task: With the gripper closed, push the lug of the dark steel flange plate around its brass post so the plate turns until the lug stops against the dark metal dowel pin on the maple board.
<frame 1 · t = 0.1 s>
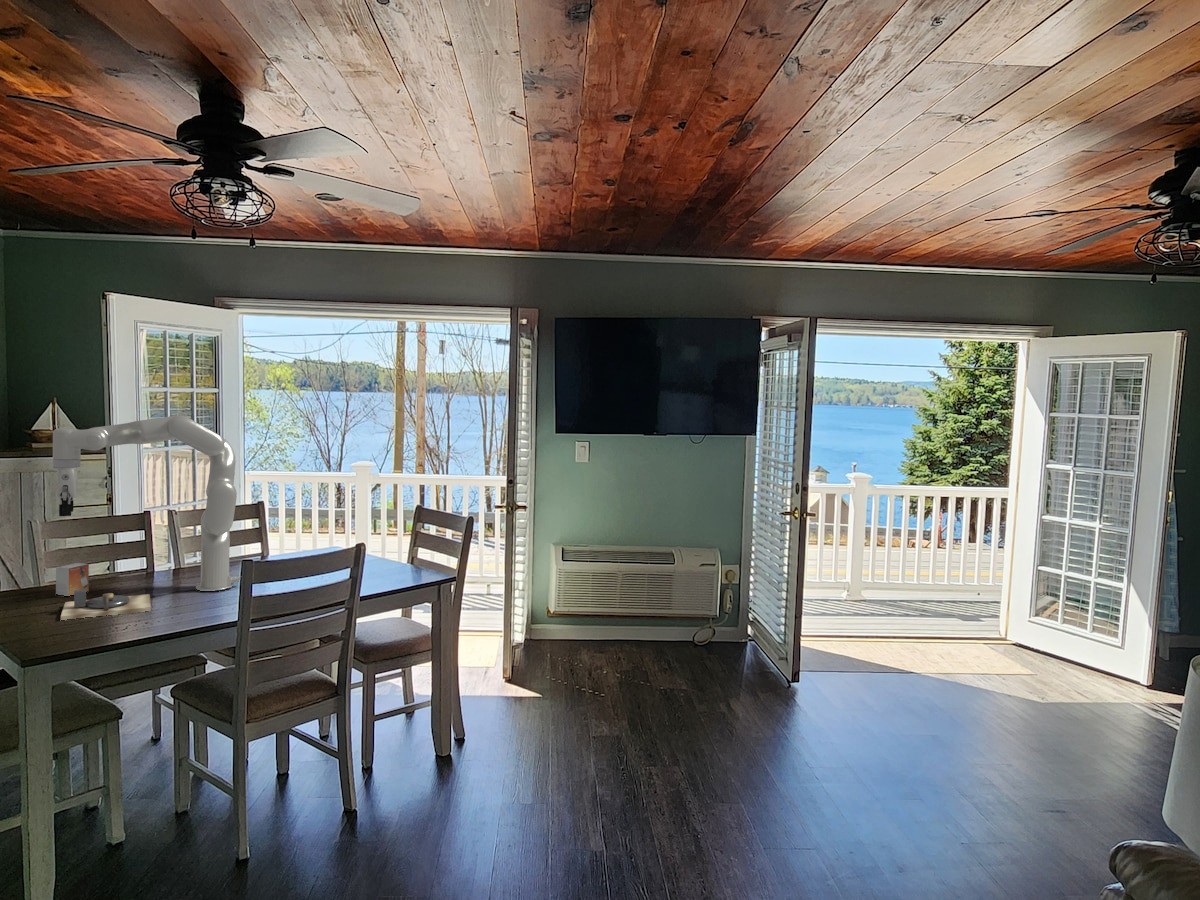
hand: (66, 513, 235), 31 cm above the table, tool pointing down, fingers open, 9 cm apart
small box: (72, 594, 247), on the table
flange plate: (102, 596, 231), point 4 cm above the table, hinge at 0.0°
post board: (107, 608, 232), on the table
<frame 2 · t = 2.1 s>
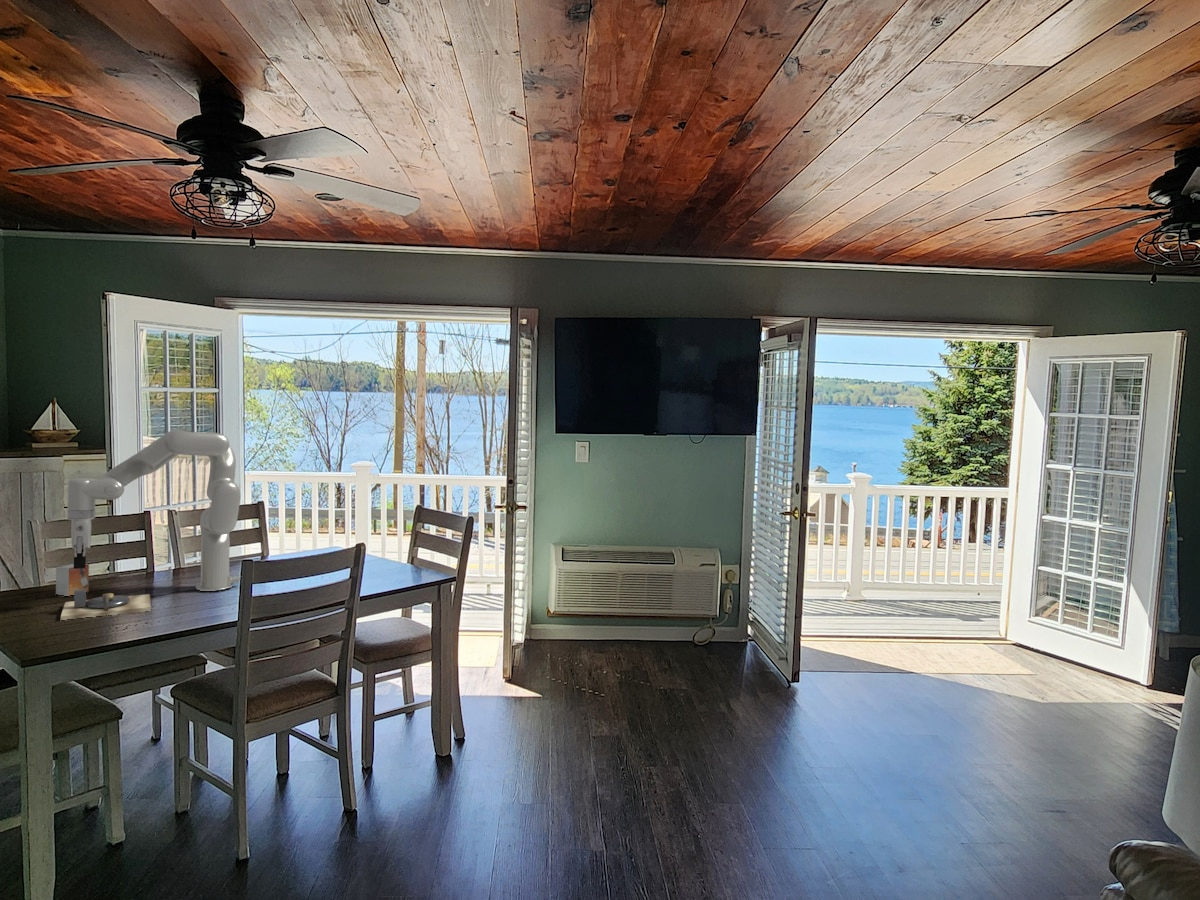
hand: (79, 567, 233), 13 cm above the table, tool pointing down, fingers closed
nothing on the table moved.
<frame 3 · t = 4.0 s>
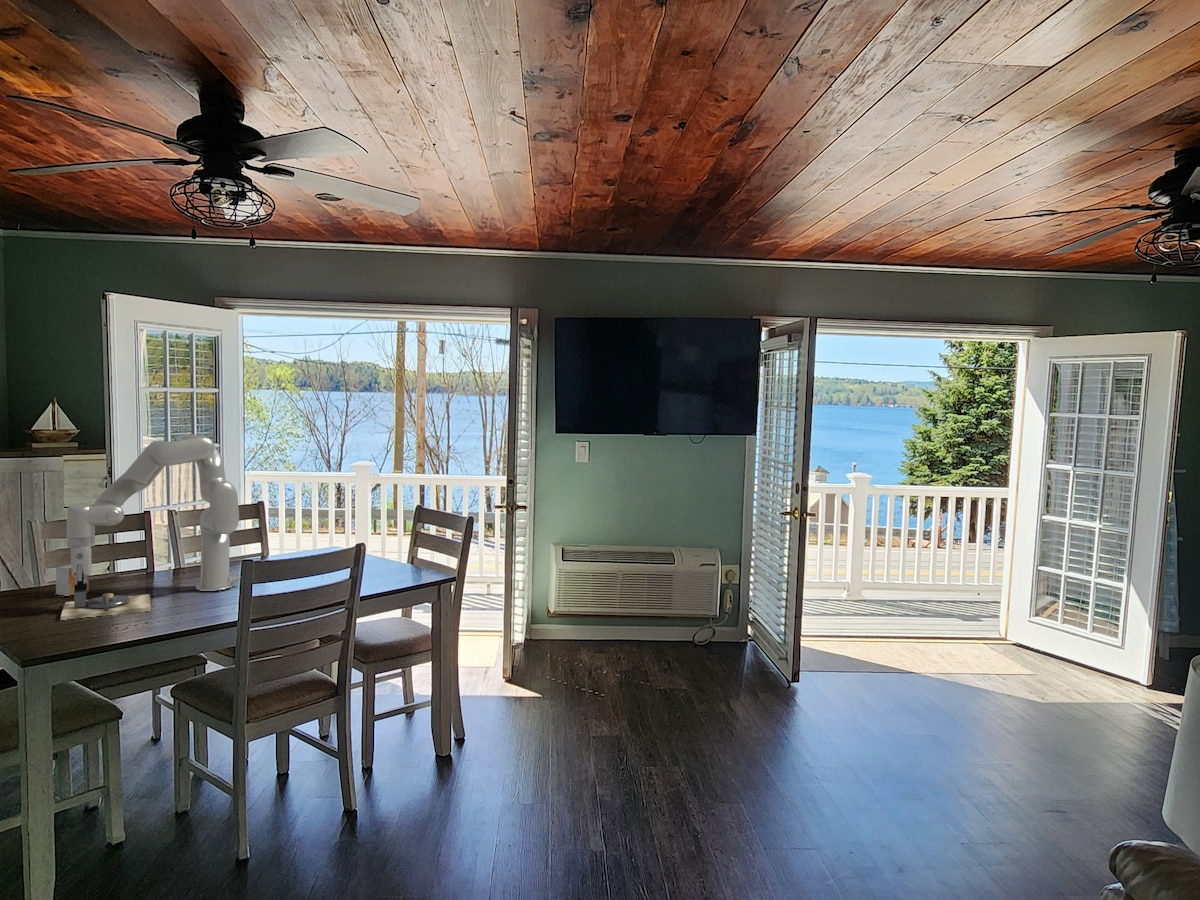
hand: (80, 595, 230), 5 cm above the table, tool pointing down, fingers closed
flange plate: (102, 596, 231), point 4 cm above the table, hinge at 0.1°, touching gripper
everything else where it was.
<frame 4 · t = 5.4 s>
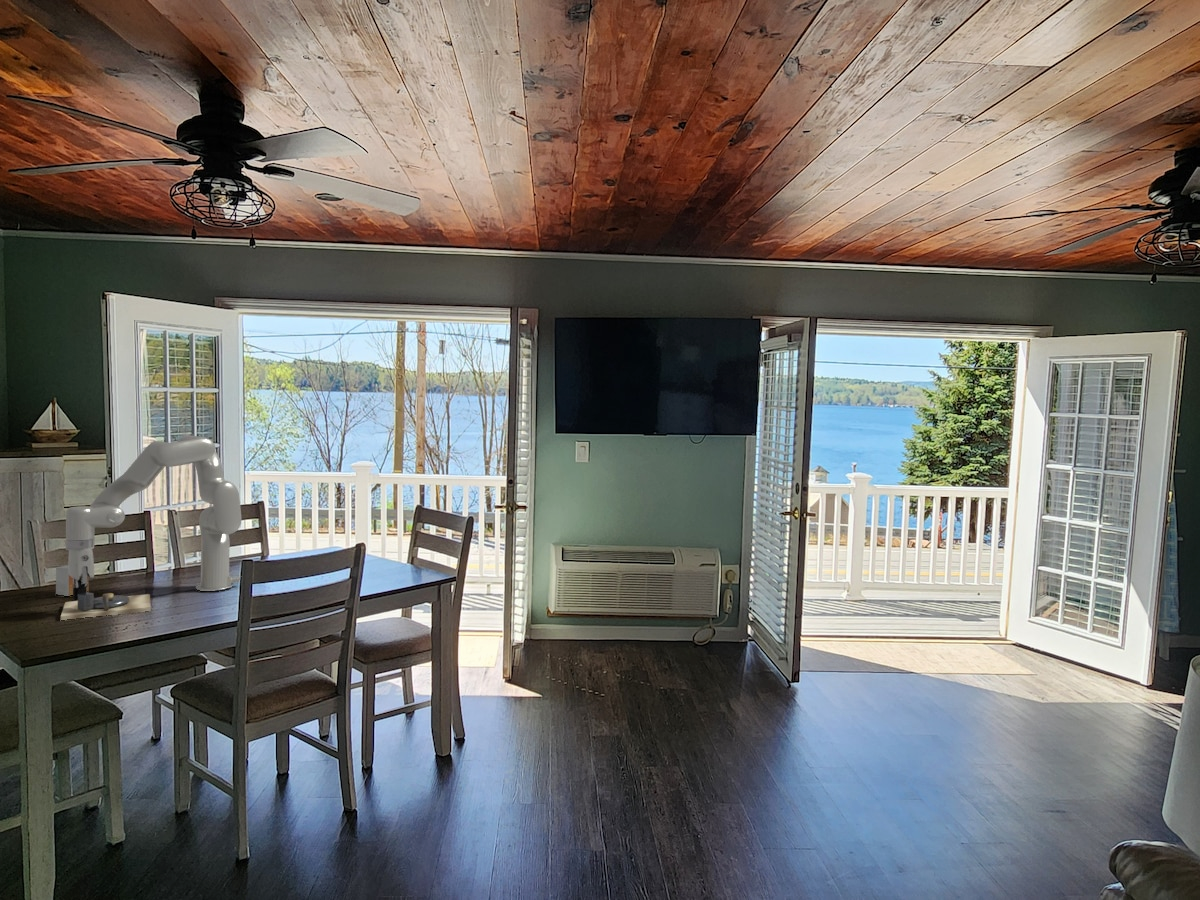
hand: (79, 598, 226), 5 cm above the table, tool pointing down, fingers closed
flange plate: (103, 596, 230), point 4 cm above the table, hinge at 39.2°, touching gripper
everything else where it was.
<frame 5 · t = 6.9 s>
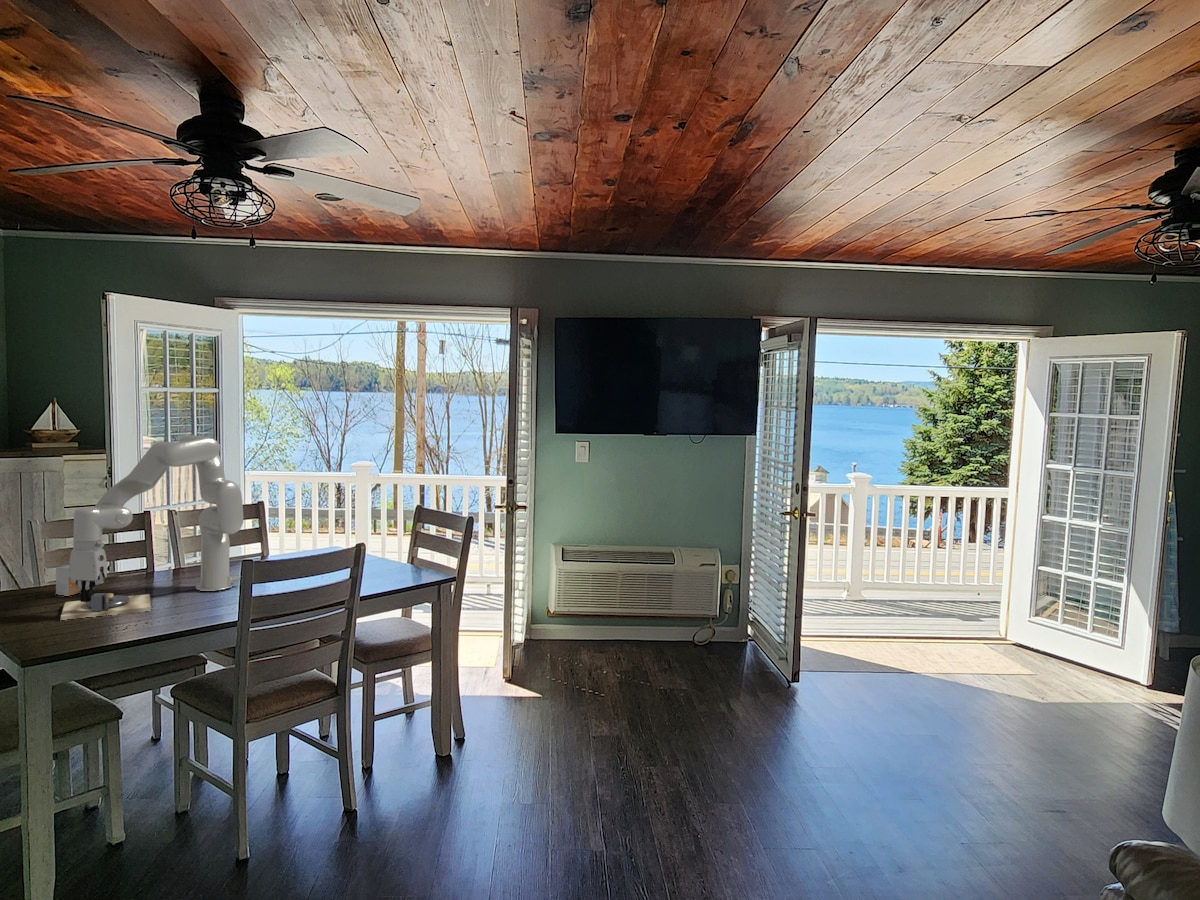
hand: (86, 600, 224), 5 cm above the table, tool pointing down, fingers closed
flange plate: (106, 596, 230), point 4 cm above the table, hinge at 71.5°, touching gripper, post board
everything else where it was.
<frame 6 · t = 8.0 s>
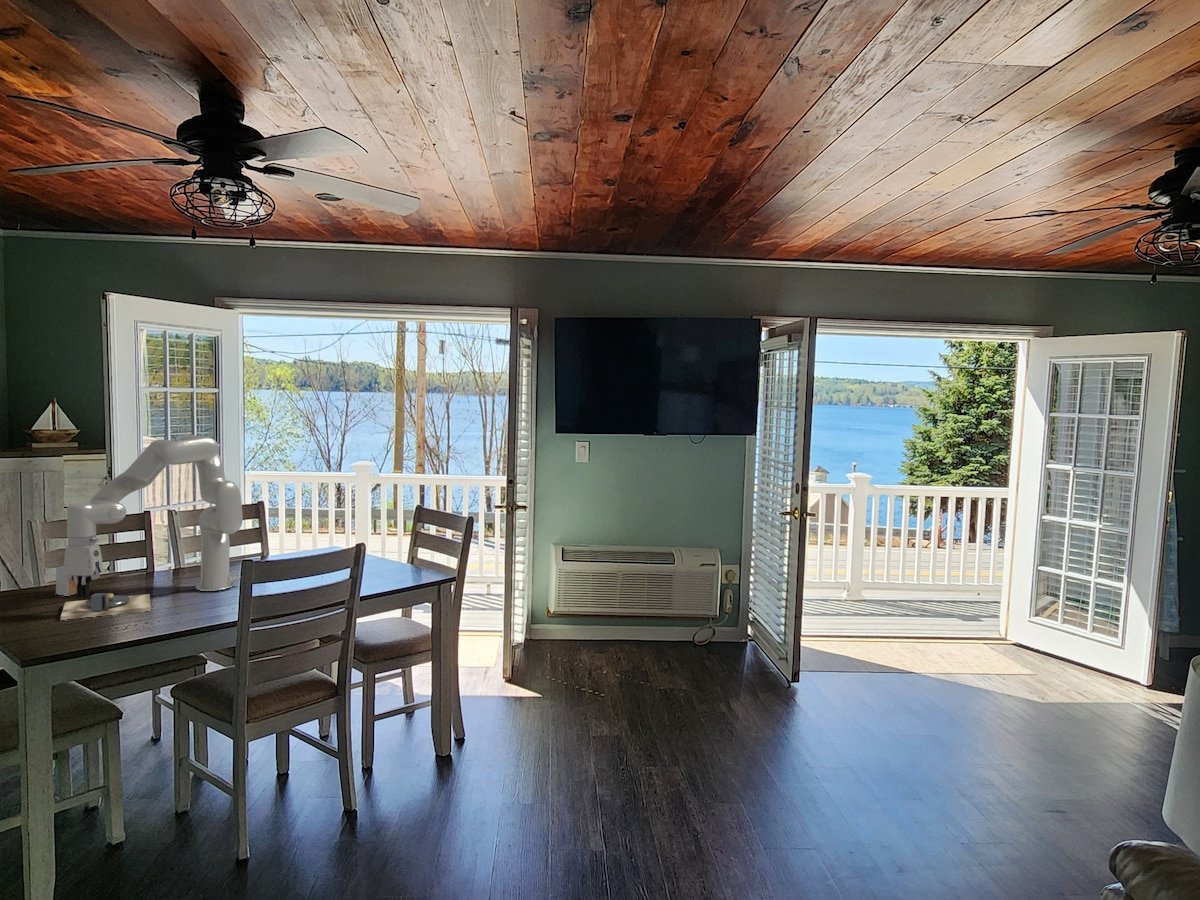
hand: (83, 595, 225), 6 cm above the table, tool pointing down, fingers closed
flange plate: (106, 596, 230), point 4 cm above the table, hinge at 71.4°
everything else where it was.
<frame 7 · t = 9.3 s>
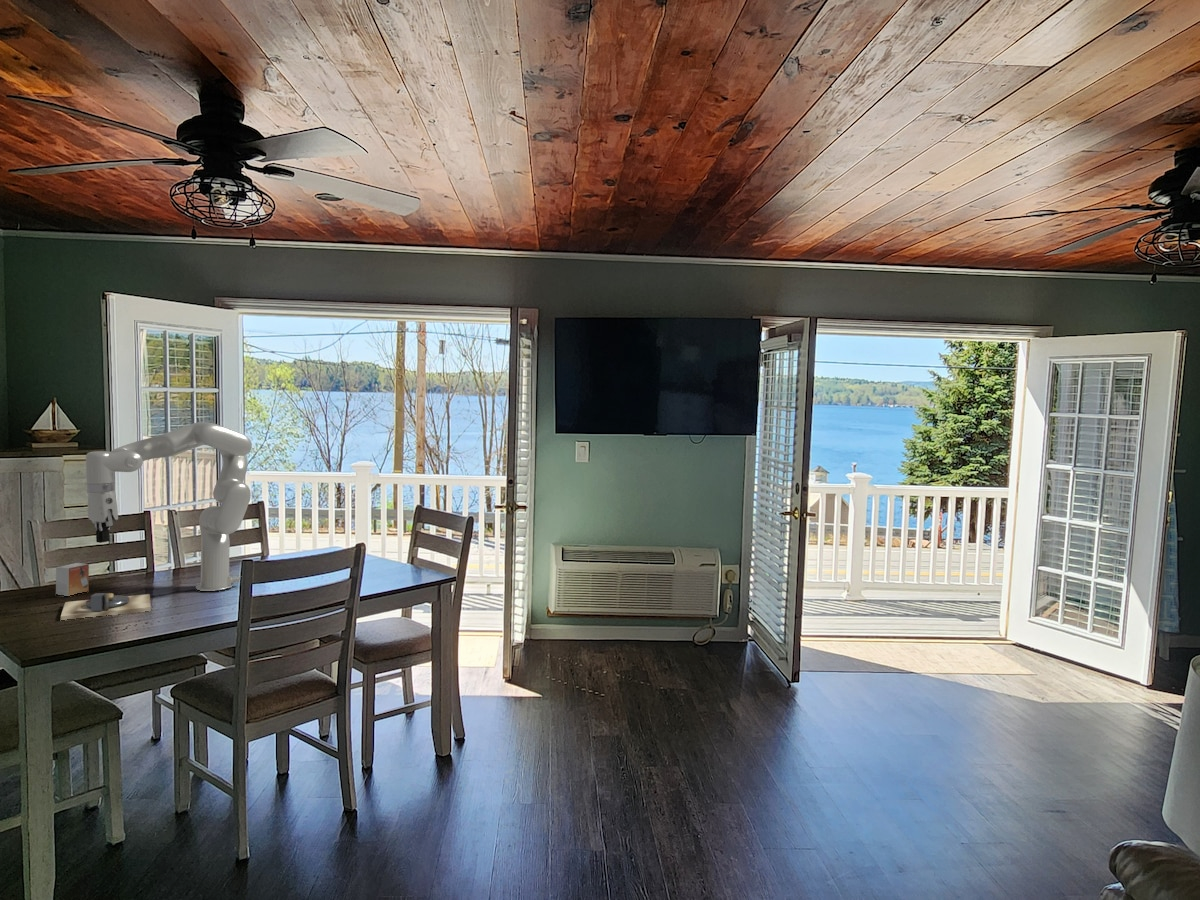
hand: (102, 541, 231), 23 cm above the table, tool pointing down, fingers closed
nothing on the table moved.
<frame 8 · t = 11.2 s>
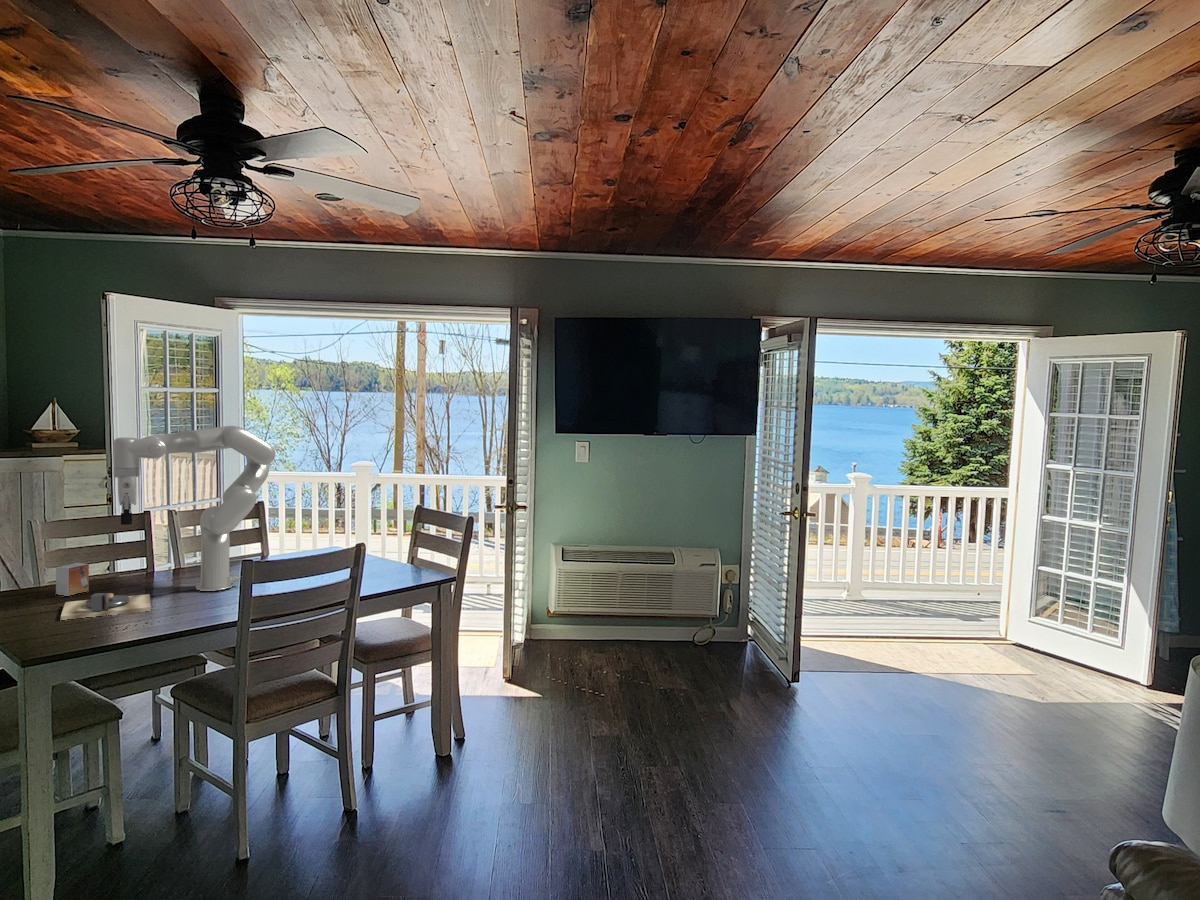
hand: (126, 524, 241), 27 cm above the table, tool pointing down, fingers closed
nothing on the table moved.
at the end: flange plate at +71° (first picture: +0°); small box moved 0.3 cm from its start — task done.
